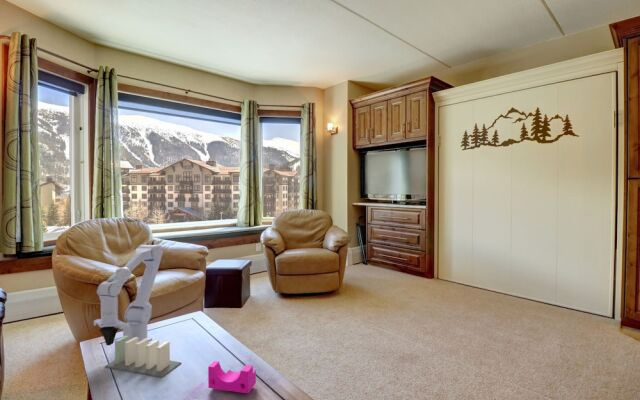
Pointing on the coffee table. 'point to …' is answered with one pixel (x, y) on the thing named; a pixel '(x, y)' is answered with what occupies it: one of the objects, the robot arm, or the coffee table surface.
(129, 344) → the domino
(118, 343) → the sage domino
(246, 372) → the toy block
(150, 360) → the domino
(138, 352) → the domino
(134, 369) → the mat
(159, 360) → the domino
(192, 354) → the coffee table surface
